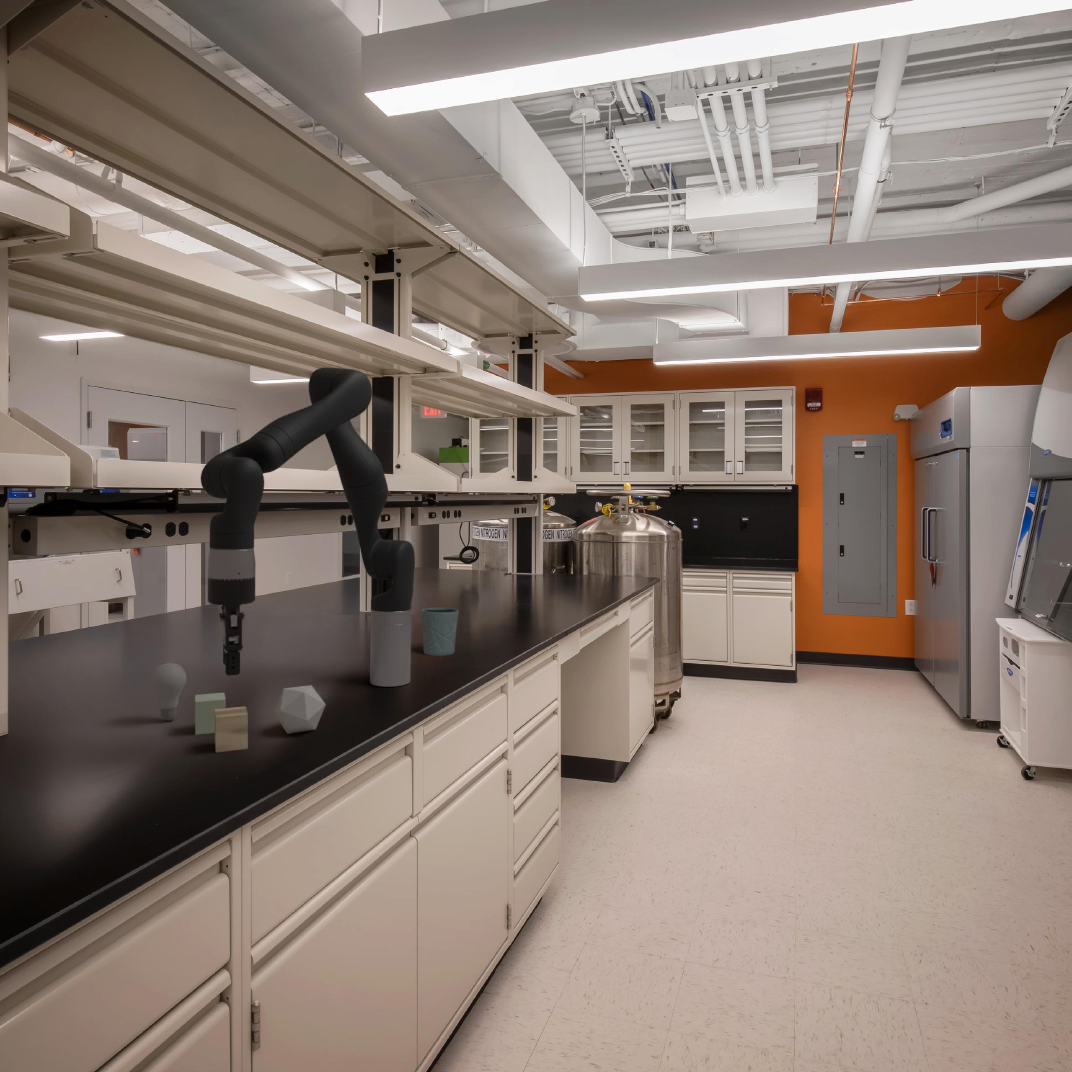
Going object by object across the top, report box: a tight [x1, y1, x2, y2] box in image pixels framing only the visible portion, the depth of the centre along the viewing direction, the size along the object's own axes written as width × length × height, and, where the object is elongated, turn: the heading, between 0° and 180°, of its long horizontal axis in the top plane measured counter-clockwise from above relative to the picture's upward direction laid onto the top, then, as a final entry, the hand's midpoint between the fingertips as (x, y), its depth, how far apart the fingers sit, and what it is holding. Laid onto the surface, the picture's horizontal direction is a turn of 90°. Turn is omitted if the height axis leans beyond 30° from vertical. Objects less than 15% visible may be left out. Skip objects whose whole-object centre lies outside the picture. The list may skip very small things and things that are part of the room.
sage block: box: [194, 692, 227, 736], centre depth 136 cm, size 5×5×6 cm
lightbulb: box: [149, 662, 187, 722], centre depth 140 cm, size 6×6×11 cm
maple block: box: [214, 706, 249, 753], centre depth 127 cm, size 5×5×6 cm
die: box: [273, 684, 326, 734], centre depth 137 cm, size 8×9×10 cm
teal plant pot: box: [421, 607, 459, 657], centre depth 207 cm, size 10×10×12 cm
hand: (231, 669), depth 127 cm, fingers open, 8 cm apart
